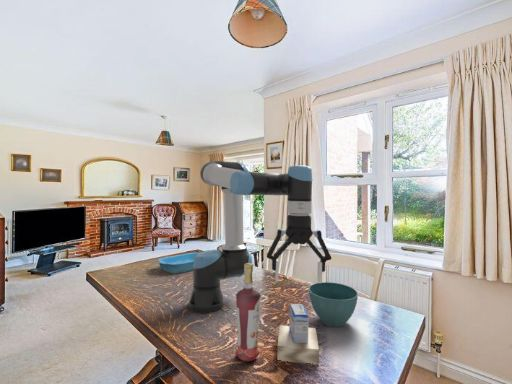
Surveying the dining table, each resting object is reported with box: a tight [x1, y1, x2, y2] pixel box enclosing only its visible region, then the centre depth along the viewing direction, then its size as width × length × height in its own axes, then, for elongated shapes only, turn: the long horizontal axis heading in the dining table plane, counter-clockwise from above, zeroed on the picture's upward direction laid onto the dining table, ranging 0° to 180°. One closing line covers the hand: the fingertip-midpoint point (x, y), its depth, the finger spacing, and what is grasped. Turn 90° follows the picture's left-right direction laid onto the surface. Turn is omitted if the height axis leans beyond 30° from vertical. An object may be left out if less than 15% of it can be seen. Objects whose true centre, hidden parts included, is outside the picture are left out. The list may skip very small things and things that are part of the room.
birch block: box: [276, 324, 320, 365], centre depth 81 cm, size 12×12×5 cm
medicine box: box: [288, 303, 310, 343], centre depth 81 cm, size 8×4×9 cm, turn 4°
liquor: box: [235, 262, 261, 363], centre depth 77 cm, size 7×7×28 cm
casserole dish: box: [157, 252, 199, 274], centre depth 171 cm, size 37×22×7 cm, turn 139°
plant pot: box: [308, 281, 359, 328], centre depth 100 cm, size 18×18×12 cm
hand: (298, 281), depth 81 cm, fingers open, 13 cm apart
